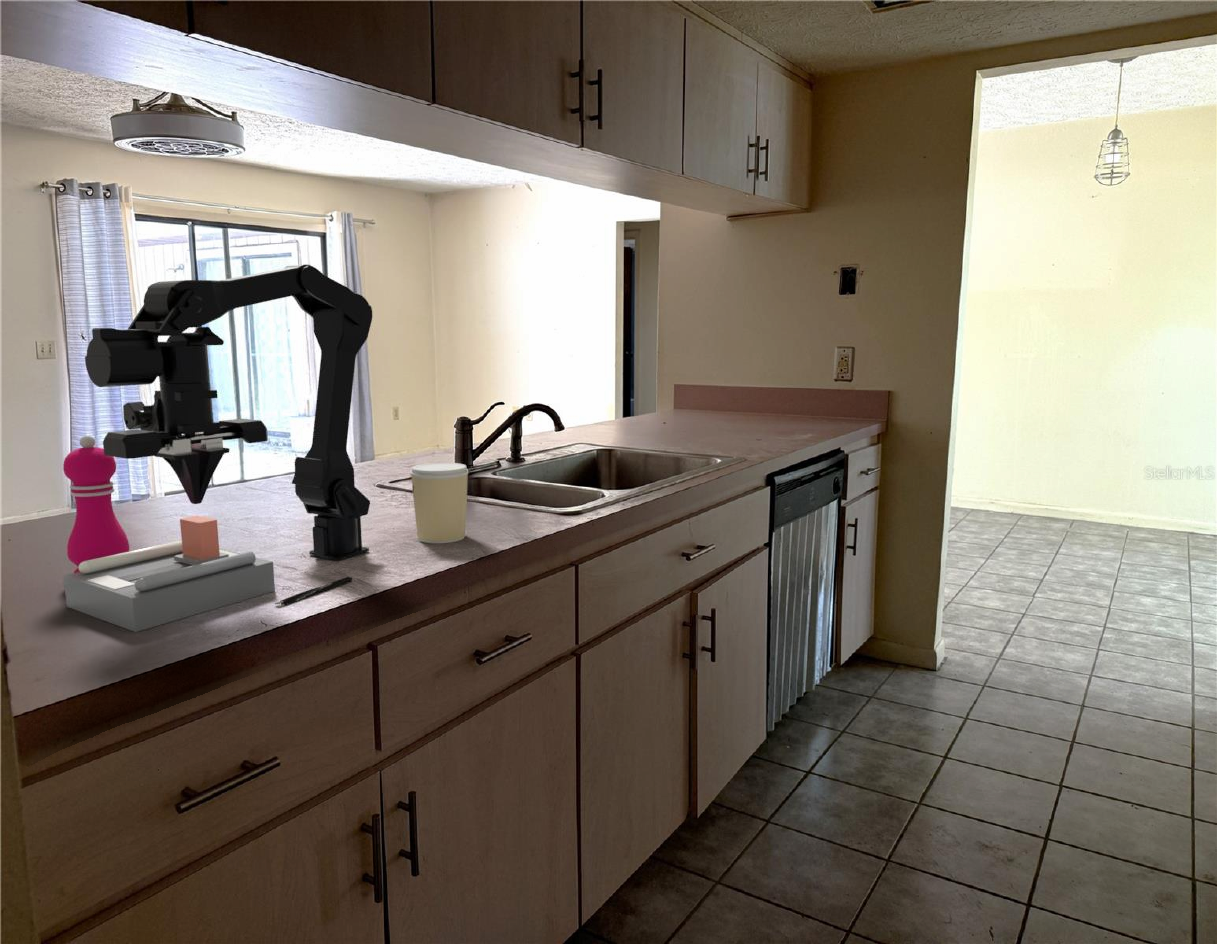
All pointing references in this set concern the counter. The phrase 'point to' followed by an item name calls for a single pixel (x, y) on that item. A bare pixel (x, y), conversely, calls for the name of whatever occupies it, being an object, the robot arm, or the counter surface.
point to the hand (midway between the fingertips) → (196, 503)
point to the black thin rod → (314, 591)
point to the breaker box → (163, 585)
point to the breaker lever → (199, 541)
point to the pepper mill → (93, 505)
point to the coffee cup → (440, 501)
